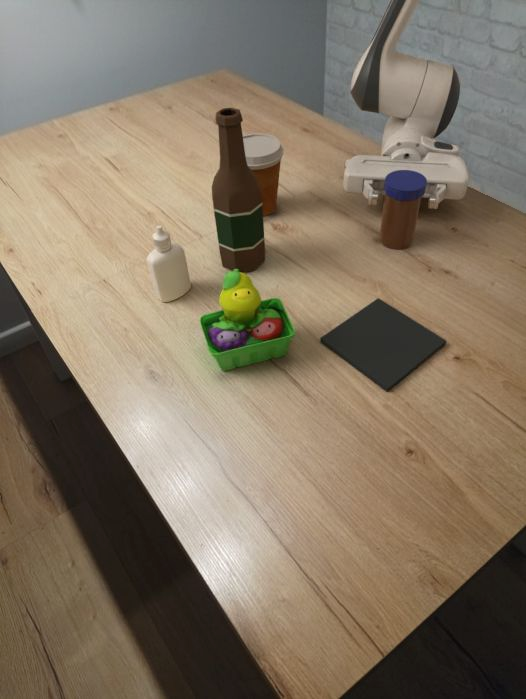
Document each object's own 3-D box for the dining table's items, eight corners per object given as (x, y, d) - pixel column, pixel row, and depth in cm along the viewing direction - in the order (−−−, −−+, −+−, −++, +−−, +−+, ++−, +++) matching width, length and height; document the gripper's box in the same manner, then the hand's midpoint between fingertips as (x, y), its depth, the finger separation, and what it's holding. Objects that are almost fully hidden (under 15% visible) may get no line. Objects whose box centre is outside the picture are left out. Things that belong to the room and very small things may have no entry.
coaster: (377, 301, 76) (378, 297, 76) (445, 344, 70) (446, 340, 69) (319, 342, 71) (320, 338, 71) (387, 392, 65) (388, 388, 64)
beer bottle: (213, 271, 83) (190, 123, 66) (226, 243, 88) (209, 98, 71) (260, 277, 82) (249, 126, 64) (271, 247, 87) (264, 100, 69)
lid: (401, 175, 83) (402, 165, 82) (433, 189, 79) (435, 179, 78) (375, 190, 80) (376, 180, 79) (407, 205, 77) (409, 195, 76)
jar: (393, 225, 89) (402, 169, 82) (420, 239, 86) (431, 182, 79) (372, 239, 87) (379, 183, 79) (398, 253, 84) (408, 196, 76)
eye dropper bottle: (155, 286, 81) (137, 221, 73) (190, 280, 82) (177, 215, 73) (156, 304, 78) (138, 239, 70) (193, 298, 79) (180, 232, 70)
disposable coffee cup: (255, 228, 91) (250, 164, 82) (223, 207, 96) (215, 144, 87) (295, 207, 95) (295, 144, 86) (262, 188, 100) (259, 126, 91)
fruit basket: (215, 381, 68) (203, 319, 59) (201, 335, 73) (189, 273, 65) (297, 360, 69) (297, 297, 61) (277, 317, 75) (275, 254, 67)
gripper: (347, 140, 91) (338, 180, 82) (468, 146, 87) (473, 189, 78) (345, 173, 96) (336, 215, 87) (460, 180, 92) (463, 224, 83)
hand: (402, 202), depth 82 cm, fingers open, 8 cm apart
